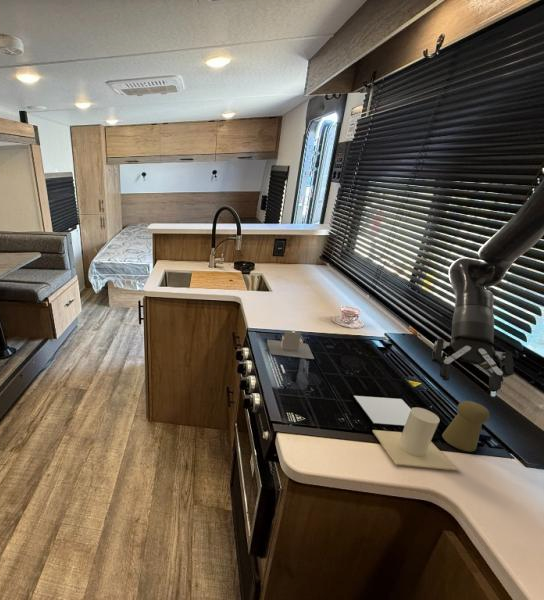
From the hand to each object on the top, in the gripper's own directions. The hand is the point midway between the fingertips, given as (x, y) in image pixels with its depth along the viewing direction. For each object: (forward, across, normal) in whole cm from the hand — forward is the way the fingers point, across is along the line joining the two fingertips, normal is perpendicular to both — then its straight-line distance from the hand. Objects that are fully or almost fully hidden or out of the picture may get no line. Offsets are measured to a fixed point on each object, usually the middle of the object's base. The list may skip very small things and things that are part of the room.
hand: (468, 385), depth 76 cm
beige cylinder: (+20, -10, -3) cm, 22 cm away
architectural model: (-5, -42, +22) cm, 48 cm away
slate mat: (+11, -14, +6) cm, 19 cm away
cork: (+14, 0, +4) cm, 14 cm away
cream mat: (+20, -10, -3) cm, 23 cm away
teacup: (-31, -24, +48) cm, 62 cm away
